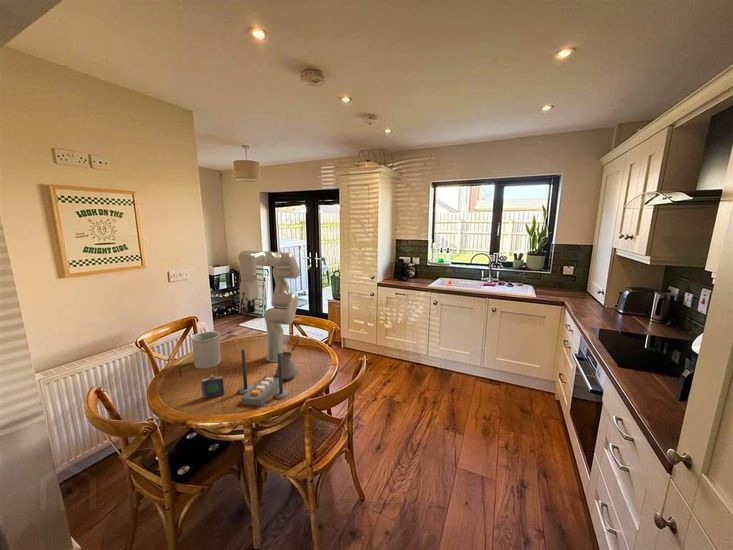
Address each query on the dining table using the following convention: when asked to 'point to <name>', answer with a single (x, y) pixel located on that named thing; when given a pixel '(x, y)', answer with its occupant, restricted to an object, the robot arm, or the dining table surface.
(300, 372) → the dining table surface
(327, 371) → the dining table surface
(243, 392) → the post
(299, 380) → the dining table surface
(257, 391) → the breaker strip
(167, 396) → the dining table surface
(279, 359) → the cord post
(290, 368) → the coffee pot
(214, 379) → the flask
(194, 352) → the utensil holder
